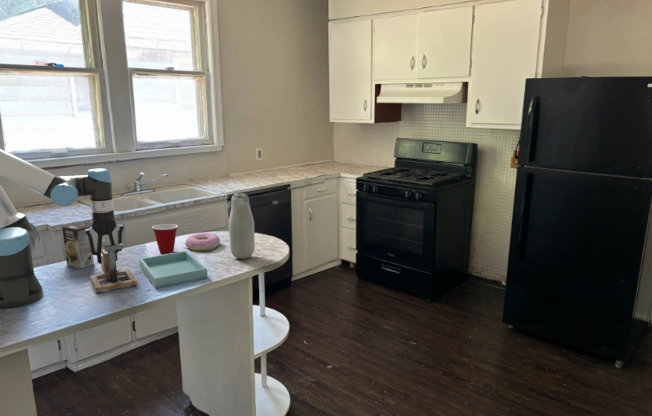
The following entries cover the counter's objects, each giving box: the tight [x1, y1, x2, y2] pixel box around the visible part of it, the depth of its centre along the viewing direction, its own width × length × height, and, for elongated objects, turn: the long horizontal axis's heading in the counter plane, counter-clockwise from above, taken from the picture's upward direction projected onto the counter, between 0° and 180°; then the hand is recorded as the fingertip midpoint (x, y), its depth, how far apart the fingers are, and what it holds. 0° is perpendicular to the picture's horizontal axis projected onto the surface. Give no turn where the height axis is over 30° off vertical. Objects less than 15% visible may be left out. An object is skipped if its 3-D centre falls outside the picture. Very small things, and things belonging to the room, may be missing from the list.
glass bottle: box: [228, 192, 255, 260], centre depth 200 cm, size 10×10×28 cm
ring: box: [90, 248, 138, 293], centre depth 176 cm, size 14×20×9 cm
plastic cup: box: [151, 223, 179, 255], centre depth 209 cm, size 11×11×12 cm
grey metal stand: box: [103, 242, 126, 285], centre depth 173 cm, size 8×7×15 cm
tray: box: [138, 250, 208, 289], centre depth 185 cm, size 19×25×4 cm
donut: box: [184, 232, 221, 252], centre depth 218 cm, size 16×15×5 cm
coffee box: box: [61, 223, 95, 269], centre depth 192 cm, size 9×6×16 cm
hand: (108, 270), depth 183 cm, fingers closed on ring, 3 cm apart
